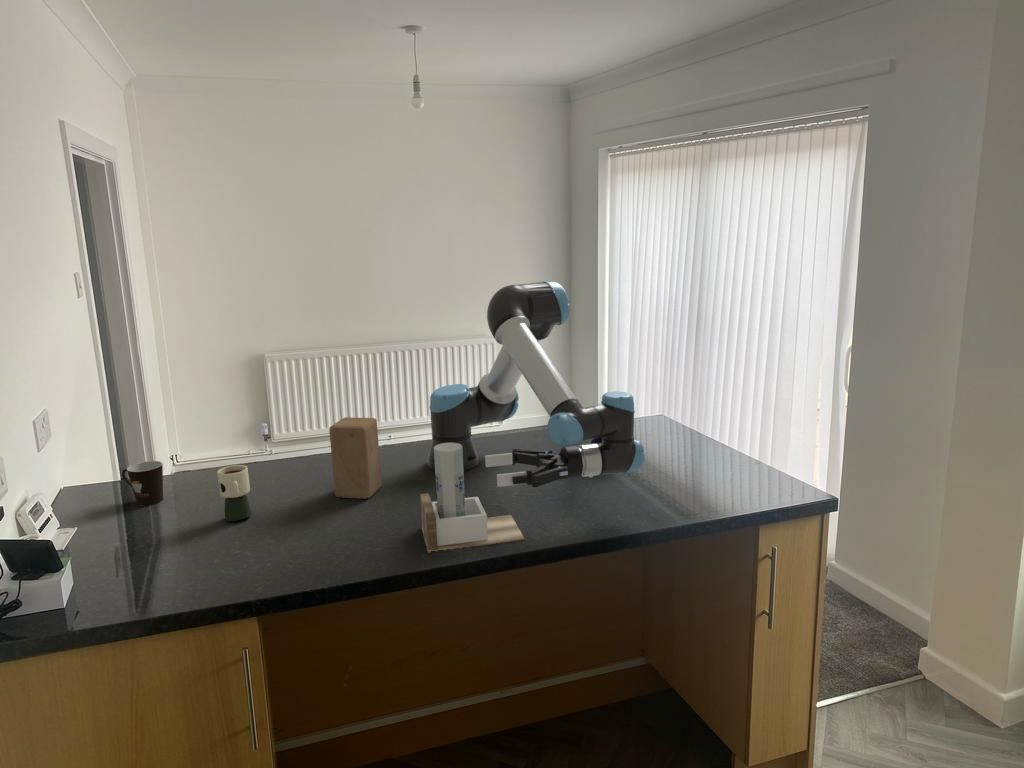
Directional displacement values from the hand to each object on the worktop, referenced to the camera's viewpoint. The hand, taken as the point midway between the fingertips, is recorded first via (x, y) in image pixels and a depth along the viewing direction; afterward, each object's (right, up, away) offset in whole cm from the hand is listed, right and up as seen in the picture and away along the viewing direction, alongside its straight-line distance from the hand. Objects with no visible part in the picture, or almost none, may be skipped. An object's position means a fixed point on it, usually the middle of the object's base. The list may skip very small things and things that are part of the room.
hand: (491, 470), depth 169 cm
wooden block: (-37, -10, +30) cm, 49 cm away
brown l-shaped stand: (-5, -15, +2) cm, 16 cm away
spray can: (-9, -14, +1) cm, 17 cm away
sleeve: (-7, -15, +1) cm, 16 cm away
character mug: (-64, -14, +16) cm, 67 cm away
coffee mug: (-94, -12, +30) cm, 99 cm away
